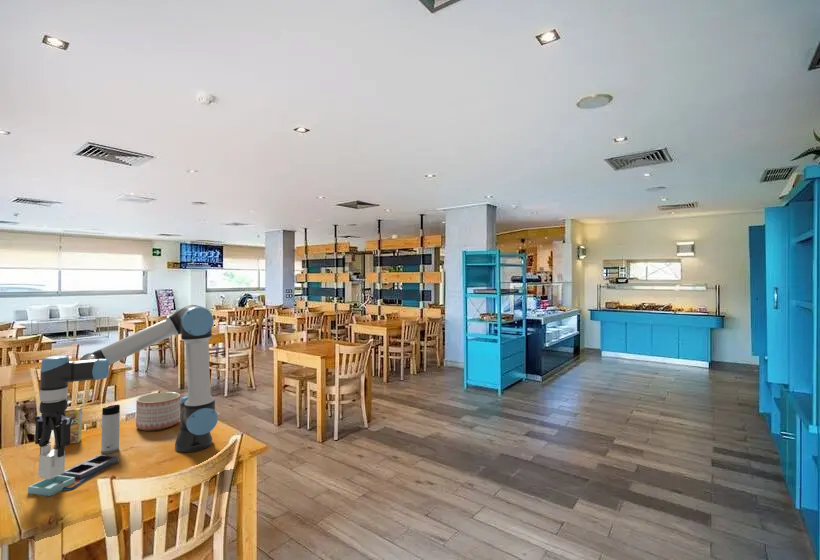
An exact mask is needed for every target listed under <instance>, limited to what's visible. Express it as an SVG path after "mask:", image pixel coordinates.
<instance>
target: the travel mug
mask: <svg viewBox="0 0 820 560" xmlns="http://www.w3.org/2000/svg"><path fill="white" fill-rule="evenodd" d="M120 410H121V406H120V404H113V405H107V406H106V407H102V411H101V412H102V413H101V445H100V447H101V448H100V449H101V450H100V452H101V454H102V455H108V454H112V453H116V452H118V451H119V450H120V426H121V425H120V419H121V416H120V414H121V411H120Z"/></svg>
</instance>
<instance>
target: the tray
mask: <svg viewBox="0 0 820 560" xmlns="http://www.w3.org/2000/svg"><path fill="white" fill-rule="evenodd" d="M60 482H63V483H60ZM58 483H60V484H58ZM73 483H75V477H69V476H61V475H58V476H56V477H54V478H52V479H44V478H43V480H39V481H36V483H33V484H31V485H29V486H27V494H28V493H31V494H30V495H33V494H37V495H36V496H40V495H43V496H42V497H47V496H48V498H50V497H52V496H53V495H55V494H58V493H60V492H62V491H64V490H63V488H64V487H66V486H68V485H70V484H73ZM57 484H58V485H57ZM55 485H56V486H55ZM53 486H54V487H53ZM51 495H52V496H51ZM49 496H50V497H49Z"/></svg>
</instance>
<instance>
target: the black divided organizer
mask: <svg viewBox="0 0 820 560" xmlns="http://www.w3.org/2000/svg"><path fill="white" fill-rule="evenodd" d="M117 464H119V456H117V455H108V454H102V453H101V454H98V455H96V456H93V457H92V458H89V459H87V460H85V461H83V462H80V463H78V464H75V465H73V466H72V467H69V468H65V469H64V473H63V474H61V476H69V477H75V479H77V480H81V479H83V478H85V477H87V476H90V475H92V474H94V473H96V472H98V473H97V474H99V473H100V472H103V471H105V470H107V469H108V468H111V467H113V466H115V465H117ZM81 470H85V471H83V472H81V473H77V472H79V471H81Z"/></svg>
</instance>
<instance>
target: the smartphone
mask: <svg viewBox="0 0 820 560" xmlns="http://www.w3.org/2000/svg"><path fill="white" fill-rule="evenodd" d="M83 471H85V470H81V471H79V472H77V473H81V472H83ZM97 474H99V473H98V472H96V473H94V474H92V475H90V476H87V477H85V478H83V479H81V480H77V479H75V483H73V484H70V485H68V486H66V487H64V488H63V490H62V491H72V490H74V489H76V488H77V487H79V486H80V485H82V484H83V483H85V482H86V481H89V479H91V478H92V477H94V476H95V475H97ZM60 483H63V482H60ZM60 483H58V484H60ZM58 484H57V485H58ZM55 486H56V485H55ZM53 487H54V486H53Z"/></svg>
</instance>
